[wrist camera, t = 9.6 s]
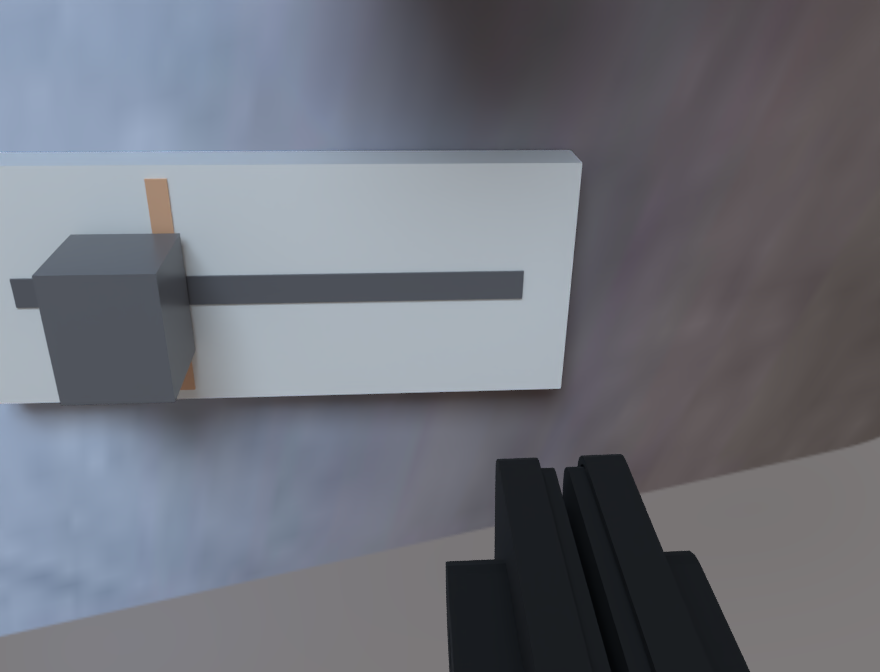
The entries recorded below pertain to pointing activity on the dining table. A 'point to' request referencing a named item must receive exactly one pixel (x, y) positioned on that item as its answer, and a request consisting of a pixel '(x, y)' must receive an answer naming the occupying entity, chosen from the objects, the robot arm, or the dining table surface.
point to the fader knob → (116, 318)
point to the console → (316, 264)
